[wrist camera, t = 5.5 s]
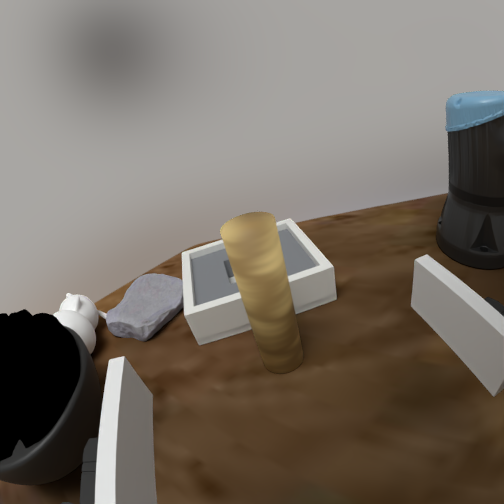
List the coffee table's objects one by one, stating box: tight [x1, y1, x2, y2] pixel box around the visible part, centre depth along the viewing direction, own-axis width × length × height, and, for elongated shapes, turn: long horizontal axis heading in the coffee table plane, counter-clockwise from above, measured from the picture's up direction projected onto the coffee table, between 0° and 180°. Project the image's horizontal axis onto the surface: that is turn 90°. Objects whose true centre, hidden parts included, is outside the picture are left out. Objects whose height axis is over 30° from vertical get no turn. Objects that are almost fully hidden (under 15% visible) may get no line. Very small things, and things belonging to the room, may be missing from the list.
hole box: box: [182, 218, 337, 345], centre depth 43 cm, size 18×16×5 cm
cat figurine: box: [53, 293, 107, 354], centre depth 39 cm, size 9×11×12 cm
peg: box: [220, 212, 304, 374], centre depth 28 cm, size 4×4×16 cm
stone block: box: [106, 274, 184, 341], centre depth 44 cm, size 12×5×10 cm
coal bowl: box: [0, 309, 102, 485], centre depth 21 cm, size 20×20×19 cm
